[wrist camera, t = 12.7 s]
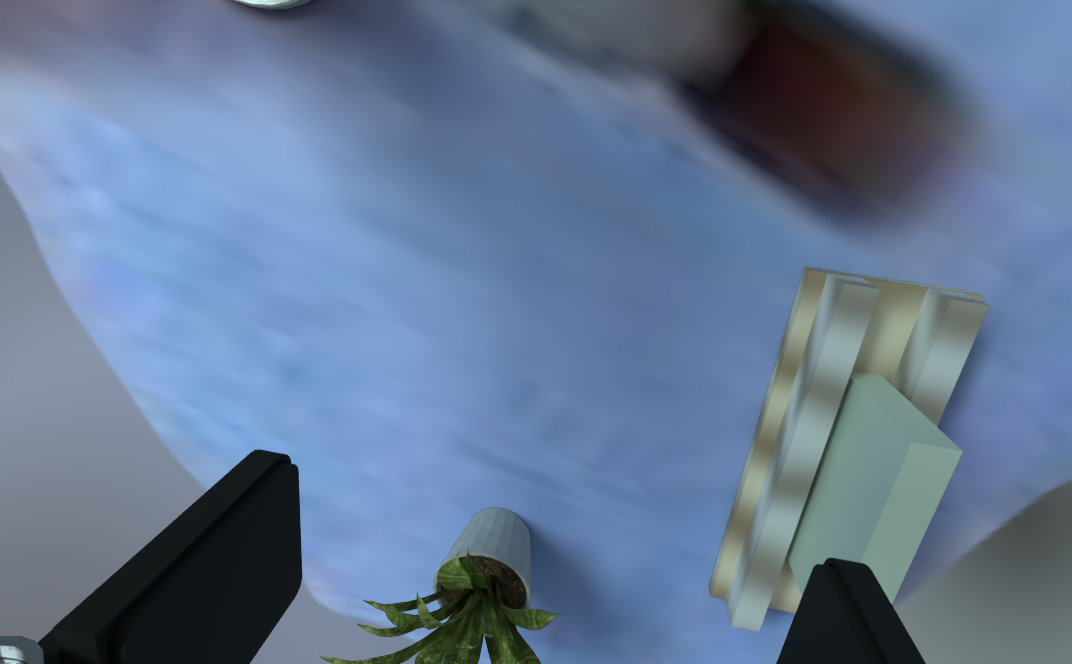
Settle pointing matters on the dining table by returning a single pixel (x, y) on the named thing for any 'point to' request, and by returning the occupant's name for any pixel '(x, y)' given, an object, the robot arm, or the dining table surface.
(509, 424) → the dining table surface
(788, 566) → the door track
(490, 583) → the house plant
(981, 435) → the dining table surface
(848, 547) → the door panel
